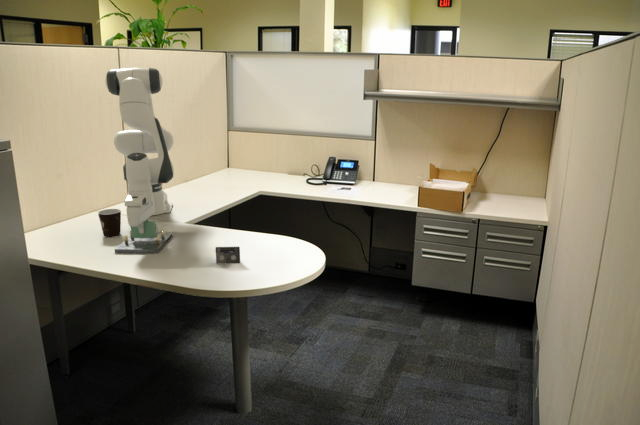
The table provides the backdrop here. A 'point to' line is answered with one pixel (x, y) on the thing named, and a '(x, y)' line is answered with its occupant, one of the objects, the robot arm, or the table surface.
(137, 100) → the robot arm
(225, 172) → the table surface
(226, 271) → the table surface
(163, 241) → the chassis plate
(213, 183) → the table surface
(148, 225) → the green block
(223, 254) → the mini dv tape
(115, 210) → the coffee mug
